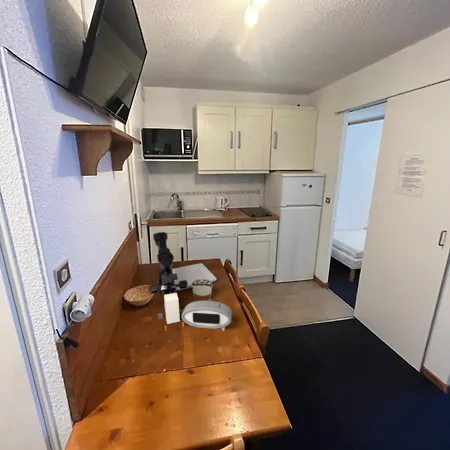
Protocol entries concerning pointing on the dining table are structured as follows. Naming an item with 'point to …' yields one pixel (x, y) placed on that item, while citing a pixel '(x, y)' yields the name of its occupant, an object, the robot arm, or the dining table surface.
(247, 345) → the dining table surface
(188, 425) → the dining table surface
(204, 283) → the food container
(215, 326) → the alarm clock
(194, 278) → the square plate
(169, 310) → the block
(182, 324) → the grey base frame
